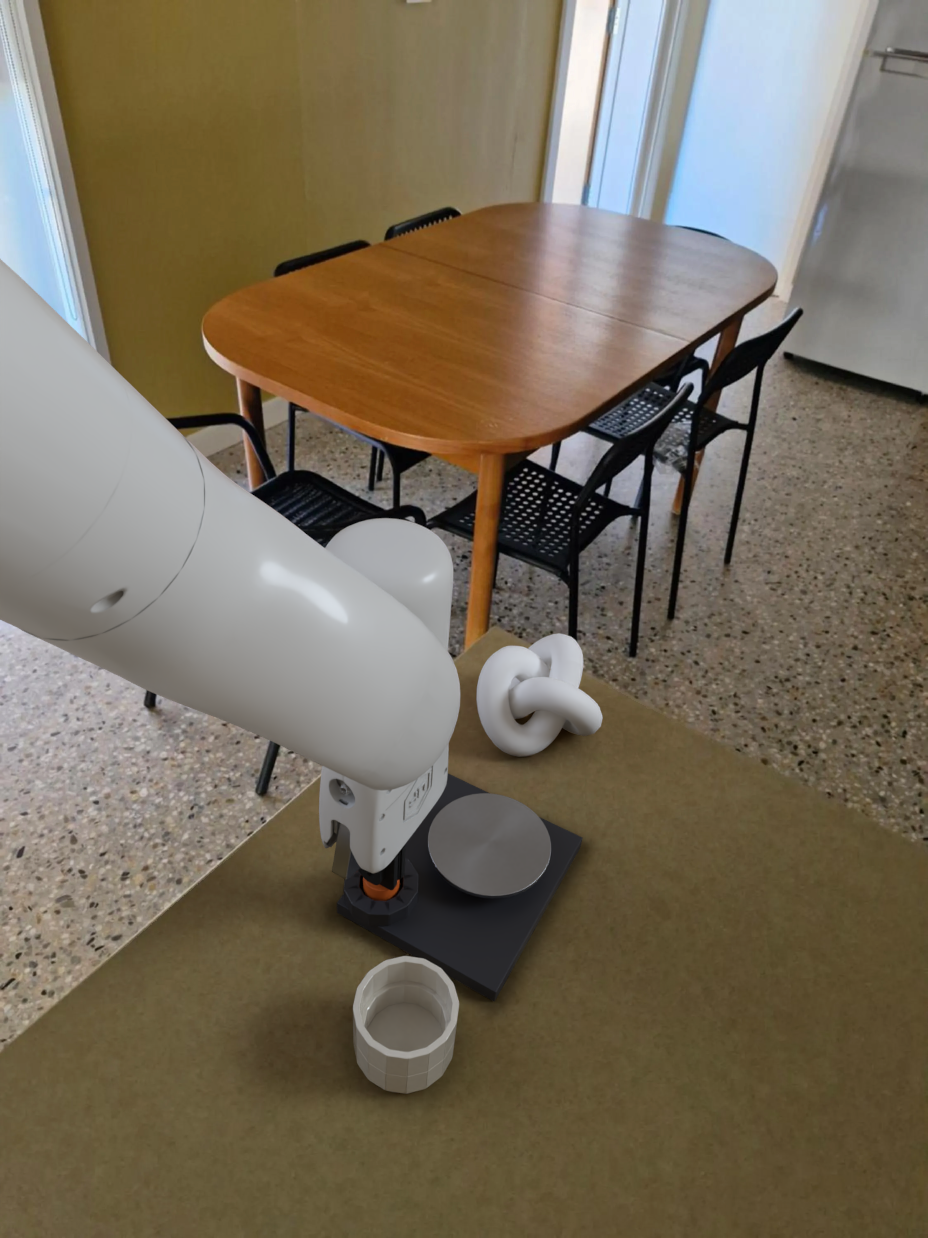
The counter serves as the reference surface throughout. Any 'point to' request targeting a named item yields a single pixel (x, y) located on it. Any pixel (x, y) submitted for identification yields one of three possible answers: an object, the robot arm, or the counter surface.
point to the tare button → (379, 891)
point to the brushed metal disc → (489, 845)
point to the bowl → (405, 1024)
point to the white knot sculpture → (535, 695)
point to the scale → (459, 908)
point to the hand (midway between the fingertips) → (381, 874)
